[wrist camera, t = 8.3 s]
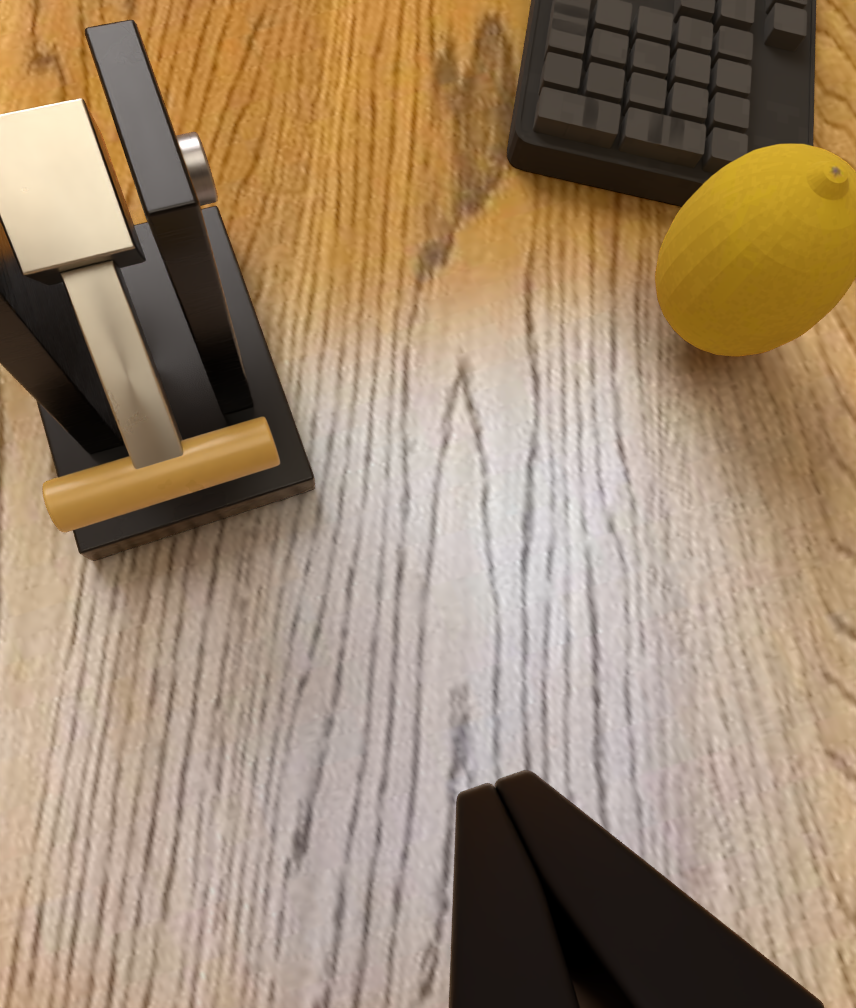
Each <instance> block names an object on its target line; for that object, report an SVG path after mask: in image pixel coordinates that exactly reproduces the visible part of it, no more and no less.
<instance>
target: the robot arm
mask: <svg viewBox="0 0 856 1008" xmlns="http://www.w3.org/2000/svg"><path fill="white" fill-rule="evenodd" d="M449 1008H824V1005H823V1003H822V1002H821V1001H820V1000H819V999H818V998H816V997H815V996H814V995H813V994H811V993H810V992H809V991H808V990H806V989H805V988H804V987H803V986H801V985H800V984H799V983H798V982H796V981H795V980H794V979H793V978H791V977H790V976H789V975H788V974H786V973H785V972H784V971H783V970H781V969H780V968H779V967H778V966H776V965H775V964H774V963H772V962H771V961H770V960H769V959H767V958H766V957H765V956H764V955H762V954H761V953H760V952H759V951H757V950H756V949H755V948H754V947H752V946H751V945H750V944H749V943H747V942H746V941H745V940H744V939H742V938H741V937H740V936H739V935H737V934H736V933H735V932H734V931H732V930H731V929H730V928H728V927H727V926H726V925H725V924H723V923H722V922H721V921H720V920H718V919H717V918H716V917H715V916H713V915H712V914H711V913H710V912H708V911H707V910H706V909H705V908H703V907H702V906H701V905H700V904H698V903H697V902H696V901H695V900H693V899H692V898H691V897H690V896H688V895H687V894H686V893H684V892H683V891H682V890H681V889H679V888H678V887H677V886H676V885H674V884H673V883H672V882H671V881H669V880H668V879H667V878H666V877H664V876H663V875H662V874H661V873H659V872H658V871H657V870H656V869H654V868H653V867H652V866H651V865H649V864H648V863H647V862H646V861H644V860H643V859H642V858H641V857H639V856H638V855H637V854H635V853H634V852H633V851H632V850H630V849H629V848H628V847H627V846H625V845H624V844H623V843H622V842H620V841H619V840H618V839H617V838H615V837H614V836H613V835H612V834H610V833H609V832H608V831H607V830H605V829H604V828H603V827H602V826H600V825H599V824H598V823H597V822H595V821H594V820H593V819H591V818H590V817H589V816H588V815H586V814H585V813H584V812H583V811H581V810H580V809H579V808H578V807H576V806H575V805H574V804H573V803H571V802H570V801H569V800H568V799H566V798H565V797H564V796H563V795H561V794H560V793H559V792H558V791H556V790H555V789H554V788H553V787H551V786H550V785H549V784H547V783H546V782H545V781H544V780H542V779H541V778H540V777H539V776H537V775H536V774H535V773H533V772H531V771H528V770H524V771H520V772H517V773H514V774H512V775H509V776H506V777H503V778H500V779H498V780H497V781H496V783H495V787H494V786H493V785H492V784H490V783H485V784H482V785H480V786H477V787H474V788H471V789H468V790H465V791H462V792H460V793H459V794H458V796H457V801H456V826H455V854H454V881H453V909H452V936H451V963H450V990H449Z"/></svg>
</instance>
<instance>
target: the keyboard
mask: <svg viewBox="0 0 856 1008" xmlns="http://www.w3.org/2000/svg"><path fill="white" fill-rule="evenodd" d="M815 32H816V0H531V6H530V12H529V18H528V24H527V31H526V37H525V43H524V49H523V55H522V61H521V67H520V74H519V80H518V86H517V92H516V98H515V104H514V110H513V117H512V123H511V129H510V135H509V141H508V147H507V157H508V159H509V162H510V163H511V164H512V165H513V166H515V167H516V168H519V169H522V170H525V171H529V172H533V173H538V174H542V175H547V176H551V177H555V178H560V179H564V180H569V181H573V182H577V183H582V184H586V185H591V186H595V187H599V188H604V189H608V190H613V191H617V192H621V193H626V194H630V195H635V196H639V197H643V198H648V199H652V200H657V201H661V202H665V203H670V204H674V205H679V206H683V205H684V204H685V203H686V202H687V200H688V199H689V198H690V197H691V196H692V195H693V194H694V193H695V192H696V191H697V190H698V189H699V188H700V187H701V186H702V185H703V184H704V183H705V182H706V181H707V180H708V179H709V178H710V177H711V176H712V175H714V174H715V173H716V172H717V171H719V170H720V169H721V168H723V167H724V166H726V165H727V164H729V163H730V162H732V161H734V160H736V159H738V158H740V157H742V156H743V155H745V154H747V153H749V152H751V151H753V150H756V149H760V148H763V147H768V146H772V145H777V144H806V145H810V146H813V126H814V79H815Z"/></svg>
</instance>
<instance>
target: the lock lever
mask: <svg viewBox="0 0 856 1008" xmlns="http://www.w3.org/2000/svg"><path fill="white" fill-rule="evenodd" d="M0 221H1V224H2V226H3V229H4V231H5V234H6V236H7V239H8V241H9V244H10V246H11V249H12V251H13V254H14V256H15V259H16V261H17V264H18V266H19V269H20V271H21V274H22V275H24V276H26V277H29V278H31V279H34V280H36V281H39V282H41V283H44V284H46V285H54V284H58V283H62V282H63V285H64V287H65V290H66V293H67V295H68V298H69V300H70V303H71V306H72V308H73V311H74V313H75V316H76V319H77V321H78V324H79V326H80V329H81V331H82V334H83V337H84V339H85V342H86V344H87V347H88V350H89V352H90V355H91V357H92V360H93V363H94V365H95V368H96V370H97V373H98V376H99V378H100V381H101V383H102V386H103V388H104V391H105V394H106V396H107V399H108V401H109V404H110V407H111V409H112V412H113V414H114V417H115V420H116V422H117V425H118V427H119V430H120V433H121V435H122V438H123V440H124V443H125V445H126V448H127V451H128V453H129V456H128V457H125V458H122V459H118V460H115V461H112V462H108V463H105V464H102V465H98V466H95V467H92V468H88V469H85V470H82V471H78V472H75V473H72V474H68V475H65V476H62V477H58V478H55V479H52V480H48V481H46V482H45V483H44V484H43V497H44V502H45V505H46V508H47V510H48V513H49V515H50V517H51V519H52V521H53V523H54V524H55V526H56V527H57V528H58V529H59V530H60V531H61V532H69V531H72V530H75V529H78V528H82V527H85V526H88V525H91V524H94V523H97V522H101V521H104V520H107V519H110V518H113V517H116V516H120V515H123V514H126V513H129V512H132V511H136V510H139V509H142V508H145V507H148V506H151V505H155V504H158V503H161V502H164V501H167V500H170V499H174V498H177V497H180V496H183V495H186V494H189V493H193V492H196V491H199V490H202V489H205V488H209V487H212V486H215V485H218V484H221V483H224V482H228V481H231V480H234V479H237V478H240V477H243V476H247V475H250V474H253V473H256V472H259V471H263V470H266V469H269V468H272V467H275V466H278V465H279V464H280V459H279V456H278V452H277V449H276V446H275V443H274V440H273V437H272V434H271V431H270V428H269V426H268V423H267V420H266V419H265V417H258V418H255V419H252V420H248V421H245V422H242V423H238V424H235V425H232V426H228V427H225V428H222V429H218V430H215V431H212V432H208V433H205V434H202V435H198V436H195V437H192V438H188V439H185V440H182V437H181V434H180V431H179V429H178V426H177V423H176V420H175V418H174V415H173V412H172V409H171V407H170V404H169V401H168V398H167V396H166V393H165V390H164V387H163V385H162V382H161V379H160V376H159V374H158V371H157V368H156V365H155V363H154V360H153V357H152V354H151V352H150V349H149V346H148V343H147V341H146V338H145V335H144V332H143V330H142V327H141V324H140V321H139V319H138V316H137V313H136V310H135V308H134V305H133V302H132V299H131V297H130V294H129V291H128V288H127V286H126V283H125V280H124V277H123V275H122V272H121V269H120V268H123V267H127V266H131V265H135V264H139V263H143V262H145V261H146V258H145V255H144V252H143V250H142V247H141V244H140V241H139V238H138V235H137V233H136V230H135V227H134V224H133V221H132V218H131V216H130V213H129V210H128V207H127V204H126V201H125V199H124V196H123V193H122V190H121V187H120V185H119V182H118V179H117V176H116V173H115V170H114V168H113V165H112V162H111V159H110V156H109V153H108V151H107V148H106V145H105V142H104V139H103V136H102V134H101V132H100V130H99V128H98V126H97V124H96V122H95V120H94V118H93V116H92V115H91V113H90V111H89V109H88V107H87V105H86V103H85V101H84V100H83V99H81V98H80V99H75V100H70V101H65V102H60V103H55V104H50V105H45V106H40V107H35V108H30V109H25V110H20V111H15V112H10V113H5V114H0Z"/></svg>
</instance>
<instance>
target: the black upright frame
mask: <svg viewBox="0 0 856 1008" xmlns="http://www.w3.org/2000/svg"><path fill="white" fill-rule="evenodd" d="M85 36H86V39H87V42H88V45H89V48H90V51H91V54H92V57H93V60H94V63H95V66H96V69H97V72H98V75H99V78H100V81H101V84H102V87H103V90H104V93H105V96H106V99H107V102H108V105H109V108H110V111H111V114H112V117H113V120H114V123H115V126H116V129H117V132H118V135H119V138H120V141H121V144H122V147H123V150H124V153H125V156H126V159H127V162H128V165H129V168H130V171H131V174H132V177H133V180H134V183H135V186H136V189H137V192H138V195H139V198H140V201H141V204H142V207H143V210H144V213H145V216H146V219H147V221H148V222H145V223H141V224H137V225H134V227H135V230H136V233H137V235H138V238H139V241H140V244H141V247H142V250H143V252H144V255H145V258H146V261H145V262H143V263H139V264H135V265H131V266H127V267H123V268H120V269H121V272H122V275H123V277H124V280H125V283H126V286H127V288H128V291H129V294H130V297H131V299H132V302H133V305H134V308H135V310H136V313H137V316H138V319H139V321H140V324H141V327H142V330H143V332H144V335H145V338H146V341H147V343H148V346H149V349H150V352H151V354H152V357H153V360H154V363H155V365H156V368H157V371H158V374H159V376H160V379H161V382H162V385H163V387H164V390H165V393H166V396H167V398H168V401H169V404H170V407H171V409H172V412H173V415H174V418H175V420H176V423H177V426H178V429H179V431H180V434H181V437H182V440H185V439H188V438H192V437H195V436H198V435H202V434H205V433H208V432H212V431H215V430H218V429H222V428H225V427H228V426H232V425H235V424H238V423H242V422H245V421H248V420H252V419H255V418H258V417H265V419H266V420H267V423H268V426H269V428H270V431H271V434H272V437H273V440H274V443H275V446H276V449H277V452H278V456H279V459H280V464H279V465H278V466H275V467H272V468H269V469H266V470H263V471H259V472H256V473H253V474H250V475H247V476H243V477H240V478H237V479H234V480H231V481H228V482H224V483H221V484H218V485H215V486H212V487H209V488H205V489H202V490H199V491H196V492H193V493H189V494H186V495H183V496H180V497H177V498H174V499H170V500H167V501H164V502H161V503H158V504H155V505H151V506H148V507H145V508H142V509H139V510H136V511H132V512H129V513H126V514H123V515H120V516H116V517H113V518H110V519H107V520H104V521H101V522H97V523H94V524H91V525H88V526H85V527H82V528H78V529H75V530H73V533H74V537H75V540H76V544H77V547H78V551H79V553H80V554H81V555H83V556H85V557H87V558H88V559H90V560H92V561H95V560H98V559H101V558H104V557H107V556H110V555H113V554H116V553H119V552H122V551H125V550H128V549H131V548H135V547H138V546H141V545H144V544H147V543H150V542H153V541H156V540H159V539H162V538H165V537H168V536H171V535H175V534H178V533H181V532H184V531H187V530H190V529H193V528H196V527H199V526H202V525H205V524H208V523H211V522H215V521H218V520H221V519H224V518H227V517H230V516H233V515H236V514H239V513H242V512H245V511H248V510H251V509H255V508H258V507H261V506H264V505H267V504H270V503H273V502H276V501H279V500H282V499H285V498H288V497H292V496H295V495H298V494H301V493H304V492H307V491H310V490H313V489H315V480H314V475H313V472H312V469H311V466H310V463H309V461H308V458H307V455H306V452H305V449H304V447H303V444H302V441H301V438H300V435H299V433H298V430H297V427H296V424H295V421H294V419H293V416H292V413H291V410H290V407H289V405H288V402H287V399H286V396H285V393H284V391H283V388H282V385H281V382H280V379H279V377H278V374H277V371H276V368H275V366H274V363H273V360H272V357H271V354H270V352H269V349H268V346H267V343H266V340H265V338H264V335H263V332H262V329H261V326H260V324H259V321H258V318H257V315H256V312H255V310H254V307H253V304H252V301H251V298H250V296H249V293H248V290H247V287H246V284H245V282H244V279H243V276H242V273H241V270H240V268H239V265H238V262H237V259H236V256H235V254H234V251H233V248H232V245H231V242H230V240H229V237H228V234H227V231H226V228H225V226H224V223H223V220H222V217H221V214H220V212H219V209H218V207H217V206H213V207H208V208H204V209H201V207H200V206H201V205H205V204H210V203H214V202H216V201H217V199H218V197H217V192H216V188H215V184H214V180H213V177H212V173H211V170H210V167H209V163H208V160H207V157H206V154H205V151H204V148H203V145H202V143H201V140H200V138H199V135H198V134H197V133H196V132H191V133H186V134H181V135H177V136H176V135H175V132H174V129H173V126H172V123H171V120H170V117H169V115H168V112H167V109H166V106H165V103H164V100H163V98H162V95H161V92H160V89H159V86H158V83H157V81H156V78H155V75H154V72H153V69H152V66H151V64H150V61H149V58H148V55H147V52H146V49H145V46H144V44H143V41H142V38H141V35H140V32H139V29H138V27H137V24H136V23H135V22H134V20H126V21H120V22H115V23H109V24H104V25H98V26H93V27H88V28H86V29H85ZM0 363H1V364H2V365H3V366H4V367H5V368H6V370H7V371H8V372H9V373H10V374H11V375H12V376H13V377H14V378H15V379H16V380H17V381H18V382H19V383H20V384H21V385H22V386H23V387H24V388H25V389H26V390H27V391H28V392H29V393H30V394H31V395H32V396H33V397H34V398H35V399H36V400H37V404H38V408H39V411H40V415H41V418H42V422H43V426H44V429H45V433H46V436H47V440H48V443H49V447H50V451H51V454H52V458H53V461H54V465H55V469H56V472H57V476H58V477H62V476H65V475H68V474H72V473H75V472H78V471H82V470H85V469H88V468H92V467H95V466H98V465H102V464H105V463H108V462H112V461H115V460H118V459H122V458H125V457H128V456H129V453H128V451H127V448H126V445H125V443H124V440H123V438H122V435H121V433H120V430H119V427H118V425H117V422H116V420H115V417H114V414H113V412H112V409H111V407H110V404H109V401H108V399H107V396H106V394H105V391H104V388H103V386H102V383H101V381H100V378H99V376H98V373H97V370H96V368H95V365H94V363H93V360H92V357H91V355H90V352H89V350H88V347H87V344H86V342H85V339H84V337H83V334H82V331H81V329H80V326H79V324H78V321H77V319H76V316H75V313H74V311H73V308H72V306H71V303H70V300H69V298H68V295H67V293H66V290H65V287H64V285H63V282H62V283H58V284H54V285H46V284H44V283H41V282H39V281H36V280H34V279H31V278H29V277H26V276H24V275H22V274H21V271H20V269H19V266H18V264H17V261H16V259H15V256H14V254H13V251H12V249H11V246H10V244H9V241H8V239H7V236H6V234H5V231H4V229H3V226H2V224H1V221H0Z"/></svg>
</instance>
